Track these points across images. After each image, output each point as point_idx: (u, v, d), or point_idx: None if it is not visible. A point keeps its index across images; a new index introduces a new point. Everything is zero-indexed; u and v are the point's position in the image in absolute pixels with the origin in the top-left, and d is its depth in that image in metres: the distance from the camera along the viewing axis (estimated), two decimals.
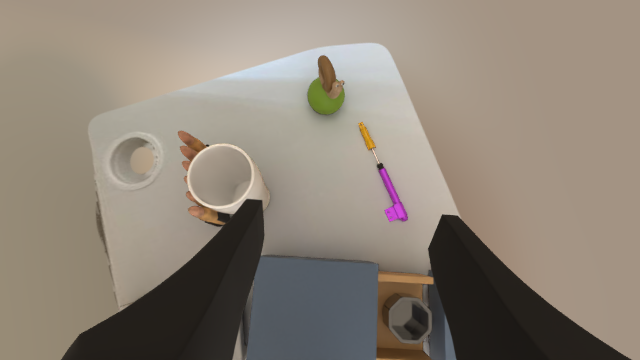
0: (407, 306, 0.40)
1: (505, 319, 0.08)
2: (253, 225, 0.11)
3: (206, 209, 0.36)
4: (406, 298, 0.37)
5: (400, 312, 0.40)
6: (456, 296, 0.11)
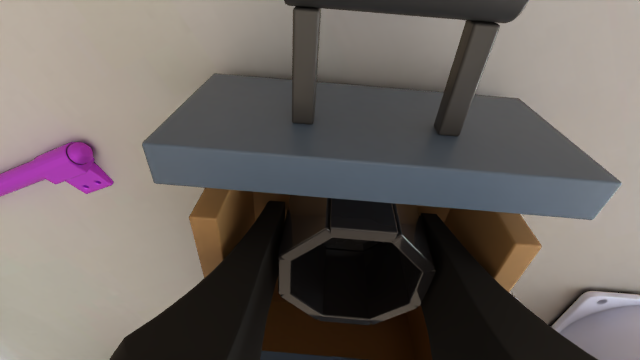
0: None
1: (473, 316, 0.08)
2: (278, 227, 0.11)
3: None
4: (282, 286, 0.11)
5: None
6: (432, 294, 0.11)
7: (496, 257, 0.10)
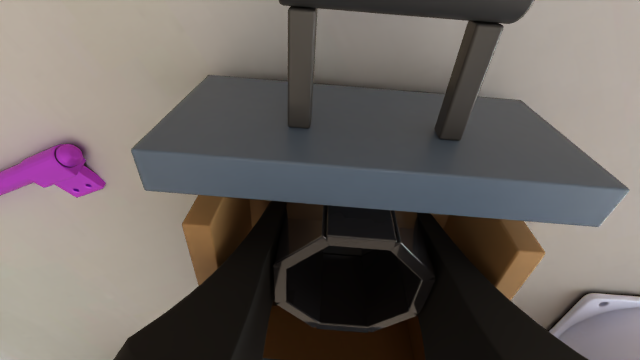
0: None
1: (465, 316, 0.08)
2: (280, 227, 0.11)
3: None
4: (278, 294, 0.10)
5: None
6: None
7: (498, 264, 0.09)
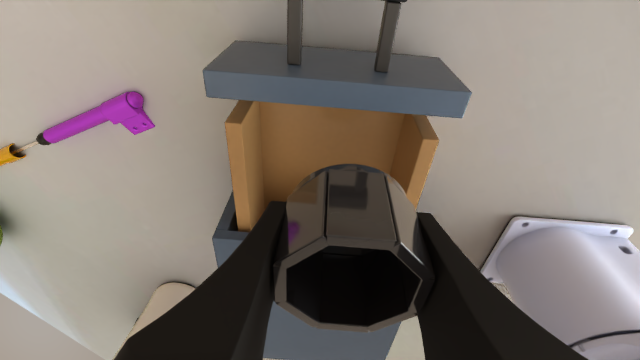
0: None
1: (465, 316, 0.08)
2: (280, 227, 0.11)
3: None
4: (277, 294, 0.10)
5: None
6: None
7: (415, 152, 0.15)
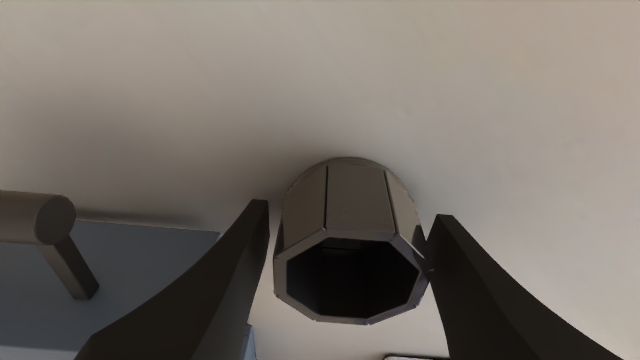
0: None
1: (497, 318, 0.08)
2: (259, 226, 0.11)
3: None
4: (278, 286, 0.11)
5: None
6: (450, 295, 0.11)
7: None
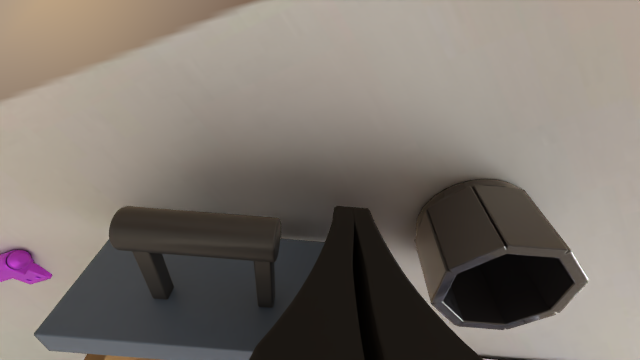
0: None
1: (369, 308, 0.08)
2: None
3: None
4: (438, 295, 0.12)
5: None
6: (354, 288, 0.11)
7: None
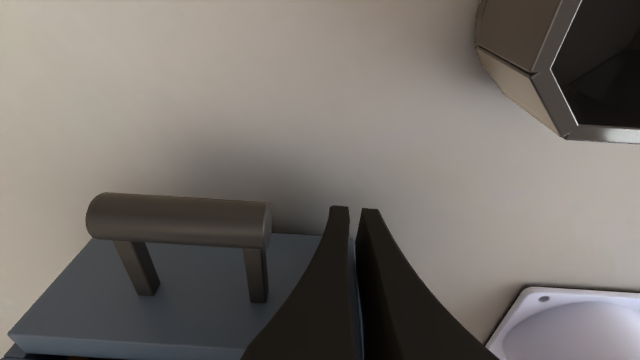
0: None
1: (385, 309, 0.08)
2: None
3: None
4: (548, 48, 0.07)
5: None
6: (366, 289, 0.11)
7: None
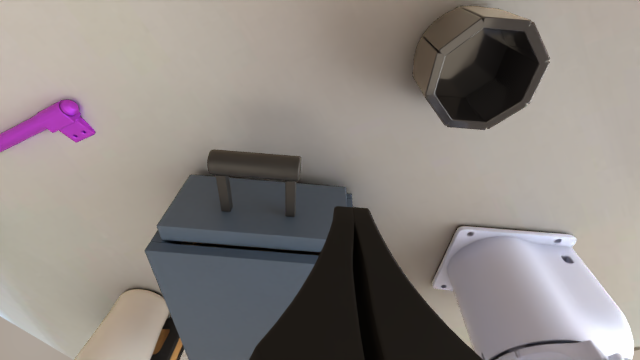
0: None
1: (369, 308, 0.08)
2: None
3: None
4: (431, 85, 0.15)
5: (457, 64, 0.17)
6: (354, 288, 0.11)
7: None
